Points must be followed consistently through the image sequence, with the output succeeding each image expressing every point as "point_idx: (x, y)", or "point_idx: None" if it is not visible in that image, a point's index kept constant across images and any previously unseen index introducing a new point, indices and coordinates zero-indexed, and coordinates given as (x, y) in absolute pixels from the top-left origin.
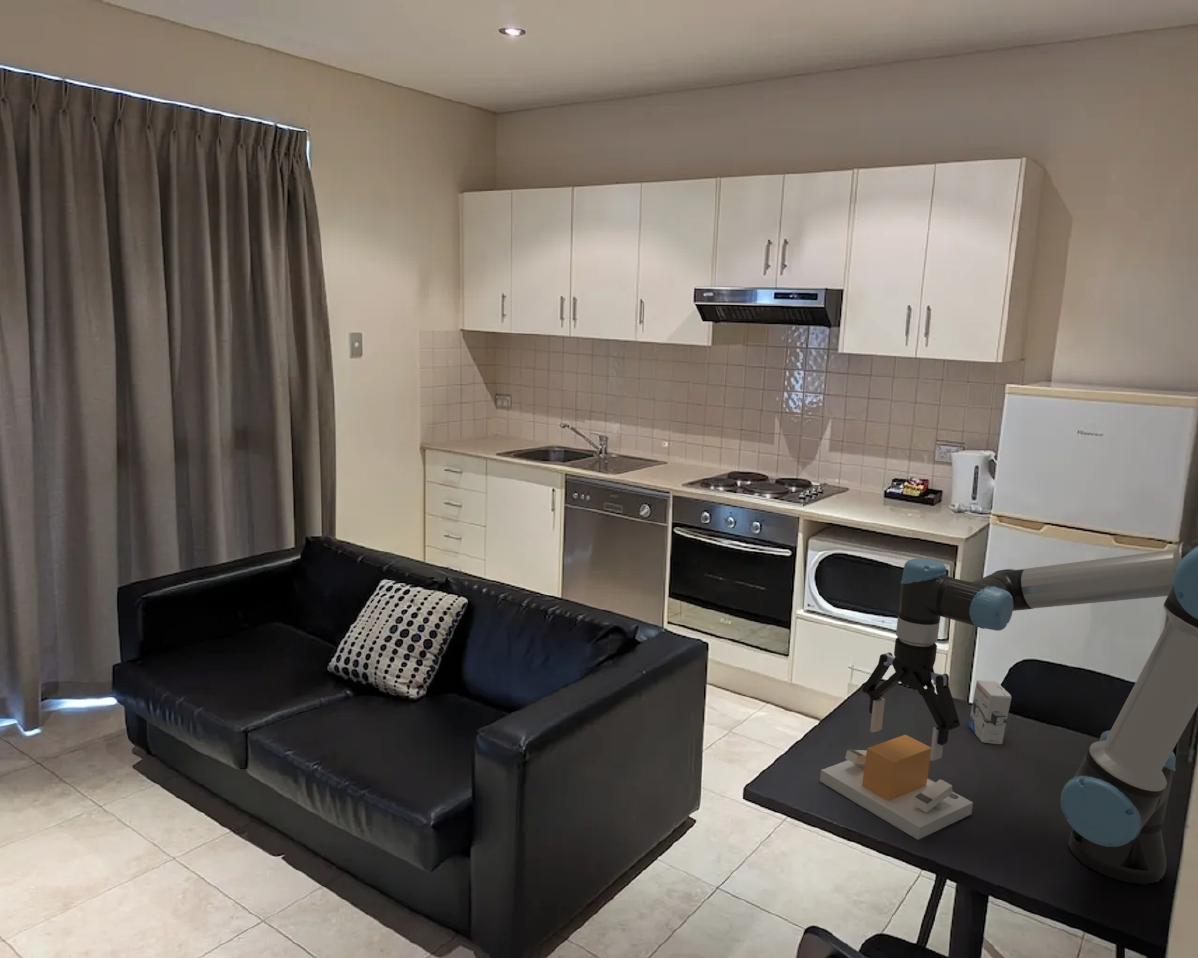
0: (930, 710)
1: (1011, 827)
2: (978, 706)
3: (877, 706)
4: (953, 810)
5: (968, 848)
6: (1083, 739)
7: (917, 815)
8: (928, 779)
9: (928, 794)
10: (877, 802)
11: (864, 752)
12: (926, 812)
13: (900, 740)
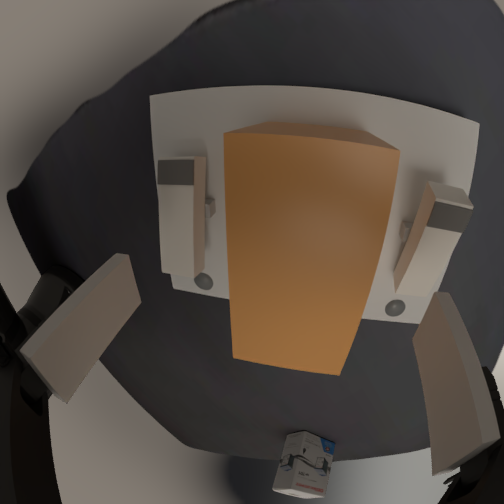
0: (6, 439)
1: (139, 284)
2: (317, 469)
3: (466, 420)
4: None
5: (116, 166)
6: (245, 455)
7: (182, 132)
8: None
9: (177, 197)
10: (278, 86)
11: (433, 260)
12: None
13: (330, 336)
